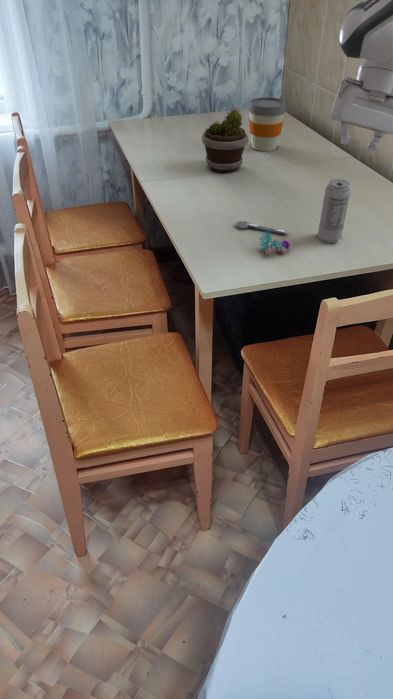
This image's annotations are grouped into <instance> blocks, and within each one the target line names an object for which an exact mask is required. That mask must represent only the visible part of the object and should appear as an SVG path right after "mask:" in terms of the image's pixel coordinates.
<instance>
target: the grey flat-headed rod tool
mask: <svg viewBox="0 0 393 699" xmlns="http://www.w3.org/2000/svg"><path fill="white" fill-rule="evenodd" d="M235 224H236V225H235V226H236V228H237V229H239V230H247V229H252V230H253V229H254V230H259V231H263V232H267V231H270V232H271V233H275V234H277V235H278V234H279V235H283V236H285V235H287V230H283V229H278V228H273V227H267V226H262V225H257V224H252V223H249V222H248V221H245V220H241V221H237V222H236V223H235ZM270 232H269V233H270Z"/></svg>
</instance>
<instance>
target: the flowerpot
mask: <svg viewBox="0 0 393 699" xmlns="http://www.w3.org/2000/svg"><path fill="white" fill-rule="evenodd" d="M243 115H244V114H242V111H240V109H239V107H237V104H236V105H235V106H234V107H232V106H231V108H230V110H228V111H227V114H225V116H224V118H223V119H222V120H221V121H222V122H221V121H219V120H220V119H217V120H216V119H214V121H213V120H212V121H211V123H210V125H209V127H207V128H205V130H204V131H203V133H202V135H201V142H202V144H203V145H204V149H205V154H206V156H205V163H206V165H207V167H208V168H209V169H210V170H211V171H214V172H216V173H232V172H235V171H237V170H239V168H240V167H241V165H243V162H244V161H243V160H244V159H243V153H244V149H245V147H246V146H247V145H248V143H249V141H250V140H249V134H247V132H246V130H245V129H244V128H242V126H243V125H244V123H243V117H244V116H243Z"/></svg>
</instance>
